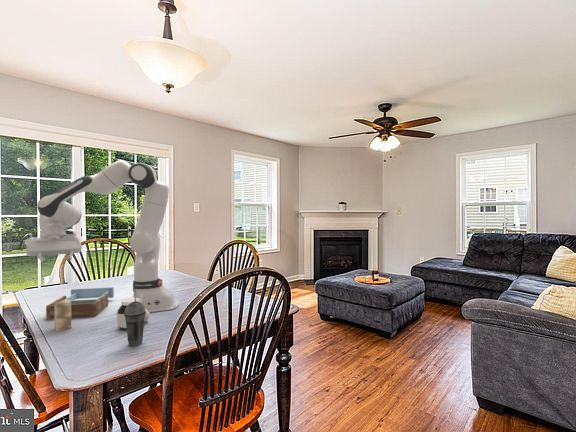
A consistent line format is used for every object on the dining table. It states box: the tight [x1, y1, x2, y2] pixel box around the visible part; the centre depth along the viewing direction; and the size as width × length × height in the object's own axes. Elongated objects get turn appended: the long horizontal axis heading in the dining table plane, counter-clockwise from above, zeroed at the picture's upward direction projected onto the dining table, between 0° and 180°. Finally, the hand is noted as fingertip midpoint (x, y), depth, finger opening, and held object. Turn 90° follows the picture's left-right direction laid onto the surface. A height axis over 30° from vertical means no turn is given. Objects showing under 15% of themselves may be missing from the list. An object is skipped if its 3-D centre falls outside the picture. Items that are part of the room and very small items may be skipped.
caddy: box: [45, 294, 109, 320], centre depth 153 cm, size 17×20×6 cm
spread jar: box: [116, 297, 151, 331], centre depth 136 cm, size 12×11×12 cm
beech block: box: [53, 300, 73, 332], centre depth 133 cm, size 5×5×11 cm
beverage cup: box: [124, 289, 146, 348], centre depth 117 cm, size 7×7×20 cm
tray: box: [64, 286, 115, 304], centre depth 163 cm, size 19×20×5 cm
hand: (56, 260), depth 141 cm, fingers open, 8 cm apart
